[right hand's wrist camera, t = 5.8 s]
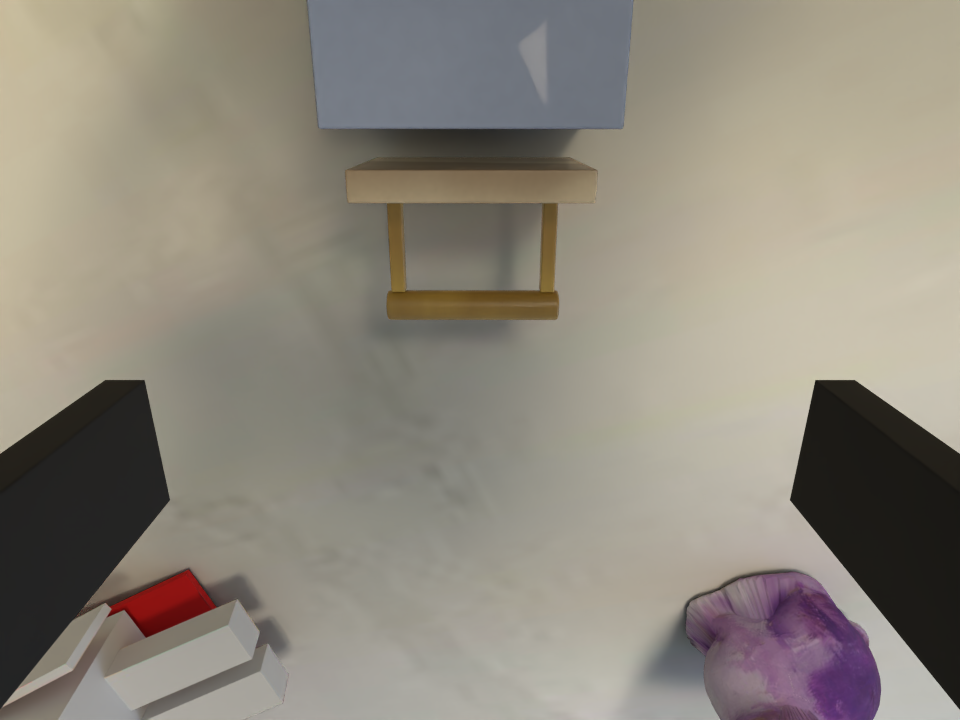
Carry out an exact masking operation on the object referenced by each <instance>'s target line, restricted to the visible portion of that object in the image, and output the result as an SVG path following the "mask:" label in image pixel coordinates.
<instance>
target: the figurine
mask: <svg viewBox="0 0 960 720" xmlns="http://www.w3.org/2000/svg"><path fill="white" fill-rule="evenodd" d="M686 614H687V616H686V617H687V619H686V621H687V622H686V624H687V625H686V634H687V635H688V637H687V638H688V639H690V642H691V644H692V645H693V646H694V647H695V648H697V649H698V650H699V651H700V652H701V653H702V654H703V655H705V657H706V659H705V664H704V683H705V688H706V692H707V695H708V697H709V699H710V701H711V703H712V705H713V707H714V709H715V711H716V712H717V714H718V716H719V718H720V719H721V720H873V719H874V717H875V715H876V712H877V710H878V707H879V704H880V695H881V683H880V676H879V672H878V669H877V665H876V662H875V659H874V657H873V655H872V653H871V651H870V648H869V637H868V635H867V633H866V632H865V630H864V629H863V628H862V627H861V626H860V625H858V624H857V623H854V622H852V621H850V620H847V618H846V617H845V616H844V615H843V613H842V612H841V611H840V610H839V609H838V608H837V607H836V605H835V604H834V602H833V601H832V599H831V598H830V596H829V595H828V593H827V592H826V590H825V589H824V587H823V586H822V585H821V584H820V583H819V582H818V581H817V580H815V579H814V578H812V577H810V576H807V575H804V574H801V573H798V572H787V573H775V574H764V575H756V576H751V577H746V578H739V579H738V580H736V581H735V582H733V583H731V584H728V585H727V586H725V587H723V588H722V589H721V590H719V591H715V592H713V593H710V594H707V595H702V596H701V597H699V598H697V599H694V600H692V601H691V602H690V604H689V606H688V607H687V613H686Z"/></svg>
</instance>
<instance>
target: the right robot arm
mask: <svg viewBox="0 0 960 720" xmlns="http://www.w3.org/2000/svg"><path fill="white" fill-rule="evenodd" d="M169 501H170V498H169V493H168V489H167V484H166V479H165V474H164V470H163V465H162V460H161V456H160V451H159V446H158V442H157V437H156V432H155V427H154V423H153V418H152V413H151V409H150V404H149V399H148V394H147V390H146V385H145V380H105V381H103V382H102V383H101V384H99V385H98V386H96V387H95V388H94V389H92V390H91V391H89V392H88V393H86V394H85V395H84V396H82V397H81V398H79V399H78V400H76V401H75V402H74V403H72V404H71V405H69V406H68V407H66V408H65V409H64V410H62V411H61V412H59V413H58V414H56V415H55V416H54V417H52V418H51V419H49V420H48V421H46V422H45V423H44V424H42V425H41V426H39V427H38V428H36V429H35V430H34V431H32V432H31V433H29V434H28V435H26V436H25V437H24V438H22V439H21V440H19V441H18V442H17V443H15V444H14V445H12V446H11V447H9V448H8V449H7V450H5V451H4V452H2V453H1V454H0V709H1V708H2V707H3V705H4V704H5V703H6V702H7V701H8V699H9V698H10V697H11V696H12V694H13V693H14V692H15V691H16V689H17V688H18V687H19V686H20V684H21V683H22V682H23V681H24V680H25V678H26V677H27V676H28V675H29V673H30V672H31V671H32V670H33V668H34V667H35V666H36V665H37V663H38V662H39V661H40V660H41V659H42V657H43V656H44V655H45V654H46V652H47V651H48V650H49V649H50V647H51V646H52V645H53V644H54V643H55V641H56V640H57V639H58V638H59V636H60V635H61V634H62V633H63V631H64V630H65V629H66V628H67V626H68V625H69V624H70V623H71V622H72V620H73V619H74V618H75V617H76V615H77V614H78V613H79V612H80V610H81V609H82V608H83V607H84V605H85V604H86V603H87V602H88V601H89V599H90V598H91V597H92V596H93V594H94V593H95V592H96V591H97V589H98V588H99V587H100V586H101V585H102V583H103V582H104V581H105V580H106V578H107V577H108V576H109V575H110V573H111V572H112V571H113V570H114V568H115V567H116V566H117V565H118V564H119V562H120V561H121V560H122V559H123V557H124V556H125V555H126V554H127V552H128V551H129V550H130V549H131V547H132V546H133V545H134V544H135V543H136V541H137V540H138V539H139V538H140V536H141V535H142V534H143V533H144V531H145V530H146V529H147V528H148V527H149V525H150V524H151V523H152V522H153V520H154V519H155V518H156V517H157V515H158V514H159V513H160V512H161V510H162V509H163V508H164V507H165V506H166V504H167V503H168V502H169ZM790 501H791V502H792V503H793V504H794V506H795V507H796V508H797V509H798V510H799V512H800V513H801V514H802V515H803V517H804V518H805V519H806V520H807V522H808V523H809V524H810V525H811V527H812V528H813V529H814V530H815V531H816V533H817V534H818V535H819V536H820V538H821V539H822V540H823V541H824V543H825V544H826V545H827V546H828V547H829V549H830V550H831V551H832V552H833V554H834V555H835V556H836V557H837V559H838V560H839V561H840V562H841V564H842V565H843V566H844V567H845V568H846V570H847V571H848V572H849V573H850V575H851V576H852V577H853V578H854V580H855V581H856V582H857V583H858V585H859V586H860V587H861V588H862V589H863V591H864V592H865V593H866V594H867V596H868V597H869V598H870V599H871V601H872V602H873V603H874V604H875V605H876V607H877V608H878V609H879V610H880V612H881V613H882V614H883V615H884V617H885V618H886V619H887V620H888V622H889V623H890V624H891V625H892V626H893V628H894V629H895V630H896V631H897V633H898V634H899V635H900V636H901V638H902V639H903V640H904V641H905V643H906V644H907V645H908V646H909V647H910V649H911V650H912V651H913V652H914V654H915V655H916V656H917V657H918V659H919V660H920V661H921V662H922V663H923V665H924V666H925V667H926V668H927V670H928V671H929V672H930V673H931V675H932V676H933V677H934V678H935V680H936V681H937V682H938V683H939V684H940V686H941V687H942V688H943V689H944V691H945V692H946V693H947V694H948V696H949V697H950V698H951V699H952V701H953V702H954V703H955V704H956V705H957V707H958V708H959V709H960V454H959V453H958V452H956V451H955V450H953V449H952V448H951V447H949V446H948V445H946V444H945V443H943V442H942V441H941V440H939V439H938V438H936V437H935V436H934V435H932V434H931V433H929V432H928V431H926V430H925V429H924V428H922V427H921V426H919V425H918V424H916V423H915V422H914V421H912V420H911V419H909V418H908V417H906V416H905V415H904V414H902V413H901V412H899V411H898V410H896V409H895V408H894V407H892V406H891V405H889V404H888V403H886V402H885V401H884V400H882V399H881V398H879V397H878V396H876V395H875V394H874V393H872V392H871V391H869V390H868V389H866V388H865V387H864V386H862V385H861V384H859V383H858V382H857V381H855V380H815V385H814V390H813V394H812V399H811V404H810V409H809V413H808V418H807V423H806V427H805V432H804V437H803V442H802V446H801V451H800V456H799V460H798V465H797V470H796V474H795V479H794V484H793V489H792V493H791V498H790Z"/></svg>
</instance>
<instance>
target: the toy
mask: <svg viewBox="0 0 960 720" xmlns="http://www.w3.org/2000/svg"><path fill="white" fill-rule="evenodd" d="M259 634H260V631H259V630H258V628H257V627H256V625H255V624H254V622H253V621H252V619H251V618H250V617H249V615H248V614H247V612H246V611H245V609H244V608H243V606H242V605H241V603H240V602H239V600H238V599H236V600H234V601H231V602H229V603H227V604H224V605H222V606H220V607H216V606H215V604H214V603H213V602H212V600H211V599H210V598H209V596H208V595H207V594H206V592H205V591H204V590H203V588H202V587H201V586H200V584H199V583H198V581H197V580H196V579H195V577H194V576H193V575H192V573H191V572H190V571H189V570H187V571H184V572H182V573H180V574H178V575H176V576H174V577H172V578H170V579H167V580H165V581H163V582H161V583H159V584H157V585H155V586H153V587H150V588H148V589H146V590H144V591H142V592H140V593H138V594H136V595H133V596H131V597H129V598H127V599H125V600H123V601H121V602H119V603H116V604H114V605H112V606H110V607H109V606H108V605H107V604H106V603H104V604H102V605H100V606H99V607H97V608H95V609H93V610H91V611H89V612H87V613H85V614H84V615H82V616H80V617H78V618H76V619H74V620H72V622H71V623H70V624H69V625H68V626H67V628H66V629H65V630H64V631H63V633H62V634H61V635H60V636H59V638H58V639H57V640H56V641H55V643H54V644H53V645H52V646H51V647H50V649H49V650H48V651H47V652H46V654H45V655H44V656H43V657H42V659H41V660H40V661H39V662H38V663H37V665H36V666H35V667H34V668H33V670H32V671H31V672H30V673H29V675H28V676H27V677H26V678H25V680H24V681H23V682H22V683H21V684H20V686H19V687H18V688H17V689H16V691H15V692H14V693H13V694H12V696H11V697H10V698H9V699H8V701H7V702H6V703H5V704H4V705H3V707H2V708H1V709H0V720H245V719H247V718H249V717H252V716H254V715H256V714H259V713H261V712H263V711H266V710H268V709H270V708H273V707H275V706H277V705H280V704H282V703H283V701H284V696H285V691H286V686H287V681H288V677H289V674H288V672H287V671H286V669H285V668H284V666H283V665H282V664H281V662H280V661H279V659H278V658H277V656H276V655H275V653H274V652H273V650H272V649H271V647H270V646H269V644H265V645H263V646H261V647H258V648H256V649H255V647H256V644H257V640H258V637H259Z"/></svg>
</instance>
